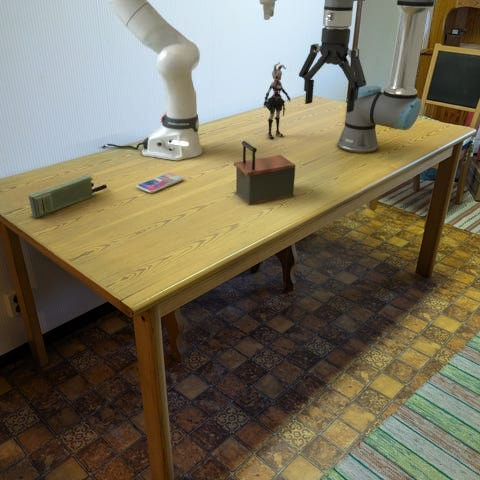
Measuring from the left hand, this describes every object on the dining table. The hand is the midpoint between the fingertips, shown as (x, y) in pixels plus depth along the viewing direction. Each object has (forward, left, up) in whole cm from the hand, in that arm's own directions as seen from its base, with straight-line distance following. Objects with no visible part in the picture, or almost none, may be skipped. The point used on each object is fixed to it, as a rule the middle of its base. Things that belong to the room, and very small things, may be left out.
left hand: (268, 18), depth 163 cm
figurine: (0, +26, -48) cm, 54 cm away
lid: (+5, -32, -38) cm, 50 cm away
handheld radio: (-50, -50, -48) cm, 85 cm away
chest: (+5, -31, -48) cm, 57 cm away
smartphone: (-29, -31, -48) cm, 64 cm away
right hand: (+22, -28, -20) cm, 41 cm away
